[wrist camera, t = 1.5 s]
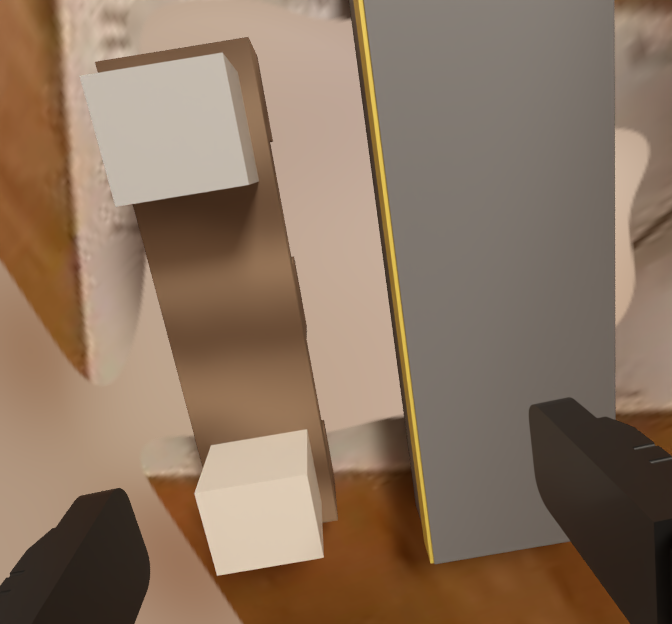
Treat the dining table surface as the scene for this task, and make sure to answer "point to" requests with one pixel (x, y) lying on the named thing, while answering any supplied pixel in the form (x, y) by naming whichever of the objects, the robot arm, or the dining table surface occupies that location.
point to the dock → (491, 242)
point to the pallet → (234, 293)
